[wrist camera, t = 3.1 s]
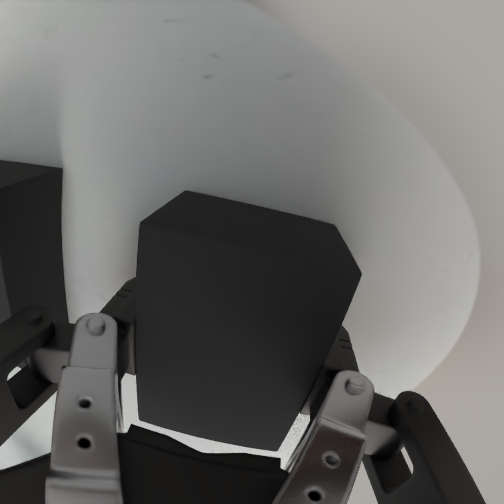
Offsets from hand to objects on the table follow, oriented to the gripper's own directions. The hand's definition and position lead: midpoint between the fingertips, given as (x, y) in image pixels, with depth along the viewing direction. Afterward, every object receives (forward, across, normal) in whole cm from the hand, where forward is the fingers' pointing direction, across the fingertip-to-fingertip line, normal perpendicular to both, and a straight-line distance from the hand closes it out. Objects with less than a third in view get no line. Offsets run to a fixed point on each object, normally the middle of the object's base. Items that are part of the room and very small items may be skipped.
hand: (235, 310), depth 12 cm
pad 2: (0, 0, 0) cm, 0 cm away
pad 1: (0, +11, 0) cm, 11 cm away
